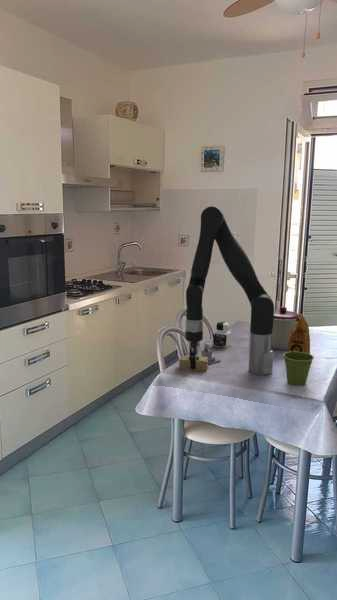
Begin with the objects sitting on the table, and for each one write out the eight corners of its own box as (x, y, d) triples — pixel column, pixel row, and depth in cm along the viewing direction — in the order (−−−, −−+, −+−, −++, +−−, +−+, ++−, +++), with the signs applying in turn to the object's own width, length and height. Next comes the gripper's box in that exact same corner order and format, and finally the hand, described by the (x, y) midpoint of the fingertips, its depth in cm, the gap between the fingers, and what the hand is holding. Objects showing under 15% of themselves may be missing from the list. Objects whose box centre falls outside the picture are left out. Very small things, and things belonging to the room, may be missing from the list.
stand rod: (197, 368, 201) (197, 356, 200) (193, 369, 200) (193, 357, 199) (194, 366, 203) (194, 355, 202) (189, 367, 202) (190, 356, 201)
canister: (296, 343, 241) (298, 303, 237) (302, 353, 223) (305, 310, 219) (261, 341, 243) (262, 302, 239) (264, 352, 225) (266, 309, 221)
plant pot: (282, 387, 180) (284, 359, 178) (280, 376, 191) (281, 350, 189) (314, 389, 178) (316, 361, 176) (310, 378, 190) (311, 352, 187)
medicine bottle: (212, 346, 234) (213, 323, 232) (218, 343, 240) (218, 320, 238) (226, 348, 231) (226, 325, 229) (231, 344, 237) (231, 322, 235)
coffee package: (283, 365, 205) (286, 317, 201) (289, 358, 216) (292, 312, 212) (306, 369, 201) (309, 320, 197) (311, 361, 212) (314, 314, 207)
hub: (220, 361, 210) (220, 344, 209) (205, 365, 205) (206, 347, 203) (207, 356, 217) (207, 340, 216) (192, 360, 212) (192, 343, 210)
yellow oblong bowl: (207, 366, 204) (208, 357, 203) (207, 371, 198) (207, 361, 197) (180, 365, 205) (180, 355, 204) (179, 369, 199) (179, 359, 199)
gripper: (187, 324, 206) (186, 360, 209) (183, 333, 192) (183, 371, 195) (204, 325, 205) (203, 361, 208) (201, 333, 191) (201, 372, 194)
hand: (193, 366), depth 201 cm, fingers closed on yellow oblong bowl, 6 cm apart
